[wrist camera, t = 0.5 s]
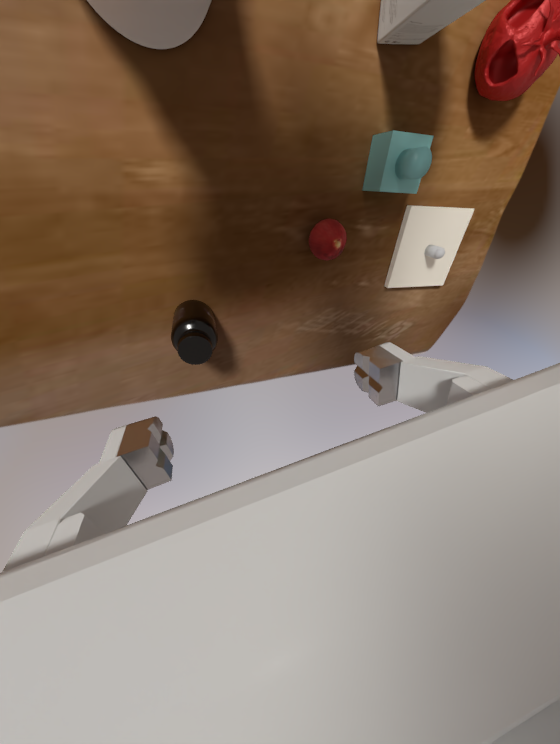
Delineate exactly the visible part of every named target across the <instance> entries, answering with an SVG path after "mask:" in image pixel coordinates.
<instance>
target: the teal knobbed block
mask: <svg viewBox="0 0 560 744" xmlns="http://www.w3.org/2000/svg"><path fill="white" fill-rule="evenodd" d="M432 140H433V136H432V135H424V134H417V133H409V132H402V131H394V130H393V131H389V132H385V133H381V134H377V135H373V138H372V143H371V148H370V153H369V158H368V164H367V169H366V174H365V179H364V184H363V190H362V191H378V192H394V193H413V194H417V191H418V187H419V184H420V180H421V178H422V177H423V176H424V175H425V174H426V173H427V171H428V170H429V168H430V165H431V161H432V153H431V150H430V146H431V143H432Z"/></svg>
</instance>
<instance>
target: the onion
mask: <svg viewBox="0 0 560 744" xmlns="http://www.w3.org/2000/svg"><path fill="white" fill-rule="evenodd" d="M346 240H347V237H346V231H345V229H344V227H343V226H342V225H341V224H340V223H339V222H338V221H337V220H334V219H325V220H321V221H320V222H319V223H317V224H316V225H315V226H314V228H313V229H312V231H311V233H310V237H309V247H310V249H311V251H312V253H313V254H314V255H315V256H316V257H317V258H318V259H322V260H326V261H327V260H331V259H335V258H336V257H337V256H339V255H340V254H341V253H342V251H343V249H344V247H345V244H346Z"/></svg>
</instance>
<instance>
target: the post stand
mask: <svg viewBox="0 0 560 744" xmlns="http://www.w3.org/2000/svg"><path fill="white" fill-rule="evenodd" d="M473 211H474V209H471V208H451V207H431V206H410V205H407V207H406V210H405V214H404V217H403V221H402V225H401V228H400V232H399V235H398V239H397V242H396V246H395V249H394V253H393V256H392V260H391V263H390V267H389V271H388V274H387V278H386V281H385V285H384V286H385V287H387V288H399V287H419V286H440V285H443V284H444V281H445V279H446V277H447V274H448V272H449V269H450V267H451V265H452V262H453V260H454V257H455V255H456V252H457V250H458V248H459V245H460V243H461V240H462V238H463V236H464V233H465V231H466V228H467V226H468V224H469V221H470V219H471V216H472V214H473Z"/></svg>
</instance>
